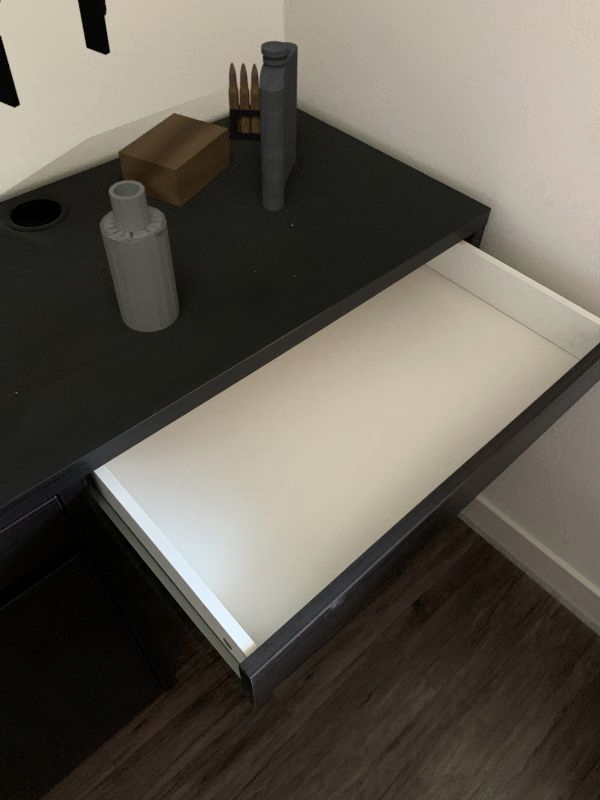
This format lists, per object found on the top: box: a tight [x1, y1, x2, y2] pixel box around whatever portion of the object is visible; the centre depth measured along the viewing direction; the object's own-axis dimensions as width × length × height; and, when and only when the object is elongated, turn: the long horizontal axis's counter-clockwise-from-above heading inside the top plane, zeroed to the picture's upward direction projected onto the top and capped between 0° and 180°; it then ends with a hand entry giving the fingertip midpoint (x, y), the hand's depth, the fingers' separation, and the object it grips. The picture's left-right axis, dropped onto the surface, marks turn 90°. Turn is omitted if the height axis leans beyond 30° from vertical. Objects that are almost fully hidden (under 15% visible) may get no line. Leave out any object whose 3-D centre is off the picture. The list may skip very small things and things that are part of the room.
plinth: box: [117, 112, 231, 208], centre depth 100 cm, size 10×14×6 cm
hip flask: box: [259, 40, 299, 213], centre depth 95 cm, size 16×4×20 cm, turn 172°
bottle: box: [99, 180, 180, 333], centre depth 75 cm, size 7×7×17 cm
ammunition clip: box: [227, 62, 261, 142], centre depth 107 cm, size 11×2×12 cm, turn 87°
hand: (55, 75), depth 69 cm, fingers open, 13 cm apart
